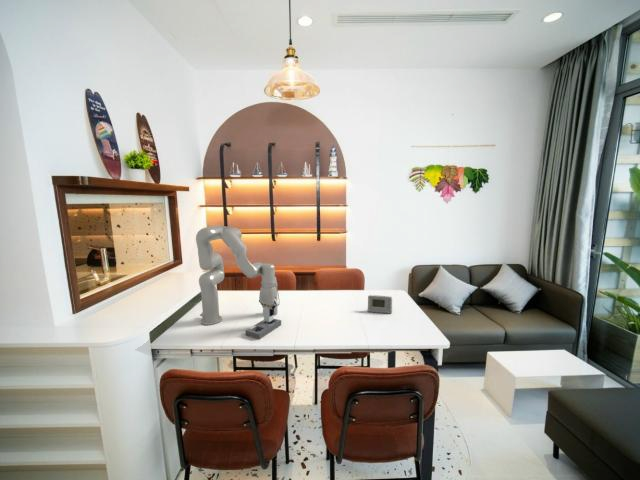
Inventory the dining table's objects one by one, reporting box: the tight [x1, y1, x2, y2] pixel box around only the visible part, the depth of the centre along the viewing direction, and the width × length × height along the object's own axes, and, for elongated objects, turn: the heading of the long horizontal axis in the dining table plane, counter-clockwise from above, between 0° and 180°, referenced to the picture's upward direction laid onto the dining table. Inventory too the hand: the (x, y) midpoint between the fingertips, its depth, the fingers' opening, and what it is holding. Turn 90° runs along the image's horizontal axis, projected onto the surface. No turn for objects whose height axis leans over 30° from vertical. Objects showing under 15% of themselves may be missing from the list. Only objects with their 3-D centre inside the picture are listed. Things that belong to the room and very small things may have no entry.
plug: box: [263, 305, 274, 322], centre depth 163 cm, size 4×4×10 cm
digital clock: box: [367, 294, 393, 314], centre depth 185 cm, size 16×9×11 cm, turn 66°
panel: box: [244, 317, 282, 340], centre depth 159 cm, size 10×20×3 cm, turn 152°
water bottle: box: [273, 276, 280, 316], centre depth 182 cm, size 9×8×25 cm
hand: (268, 314), depth 164 cm, fingers closed on plug, 4 cm apart
